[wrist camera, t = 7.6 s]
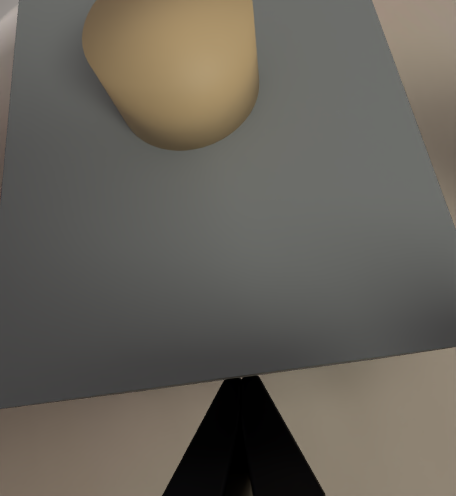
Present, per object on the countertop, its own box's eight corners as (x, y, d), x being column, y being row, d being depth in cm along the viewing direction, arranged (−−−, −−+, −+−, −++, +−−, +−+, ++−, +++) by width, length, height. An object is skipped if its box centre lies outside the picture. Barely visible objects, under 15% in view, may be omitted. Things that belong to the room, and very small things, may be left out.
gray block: (376, 358, 15) (581, 327, 5) (141, 390, 16) (-119, 423, 6) (308, 88, 20) (335, -224, 9) (129, 125, 21) (-24, -122, 10)
